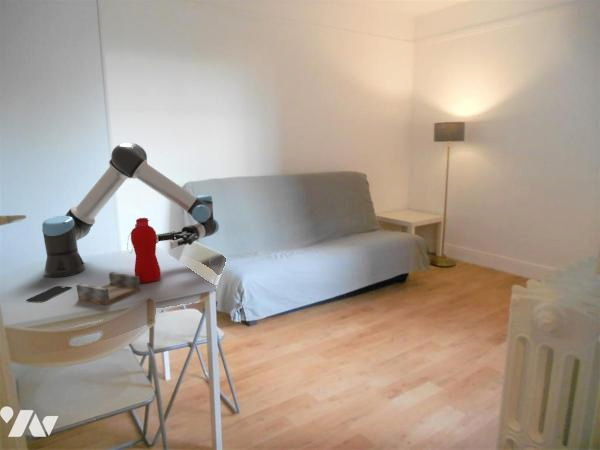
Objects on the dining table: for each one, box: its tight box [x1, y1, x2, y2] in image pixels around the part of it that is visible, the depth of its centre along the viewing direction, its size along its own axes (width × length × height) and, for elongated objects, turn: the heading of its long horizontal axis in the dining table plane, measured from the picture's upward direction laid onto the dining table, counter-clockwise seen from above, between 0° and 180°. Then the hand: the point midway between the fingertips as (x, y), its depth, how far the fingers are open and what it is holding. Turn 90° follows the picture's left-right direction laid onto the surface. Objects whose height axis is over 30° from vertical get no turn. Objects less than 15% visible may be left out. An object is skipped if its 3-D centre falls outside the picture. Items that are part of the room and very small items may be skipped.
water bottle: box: [127, 217, 162, 284], centre depth 161 cm, size 9×11×25 cm
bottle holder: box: [76, 271, 141, 306], centre depth 148 cm, size 14×15×6 cm
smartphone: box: [25, 285, 73, 303], centre depth 151 cm, size 8×1×15 cm
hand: (158, 243), depth 167 cm, fingers open, 13 cm apart
